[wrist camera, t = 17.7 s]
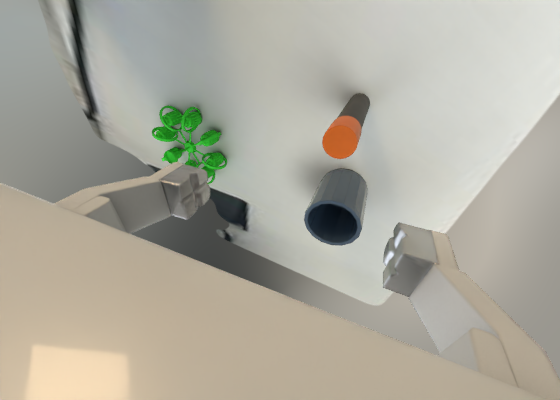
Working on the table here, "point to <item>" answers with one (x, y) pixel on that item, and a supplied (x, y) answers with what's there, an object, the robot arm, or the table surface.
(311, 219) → the pen cup
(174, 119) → the chandelier
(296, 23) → the table surface
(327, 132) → the marker
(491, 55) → the table surface
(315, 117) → the table surface
